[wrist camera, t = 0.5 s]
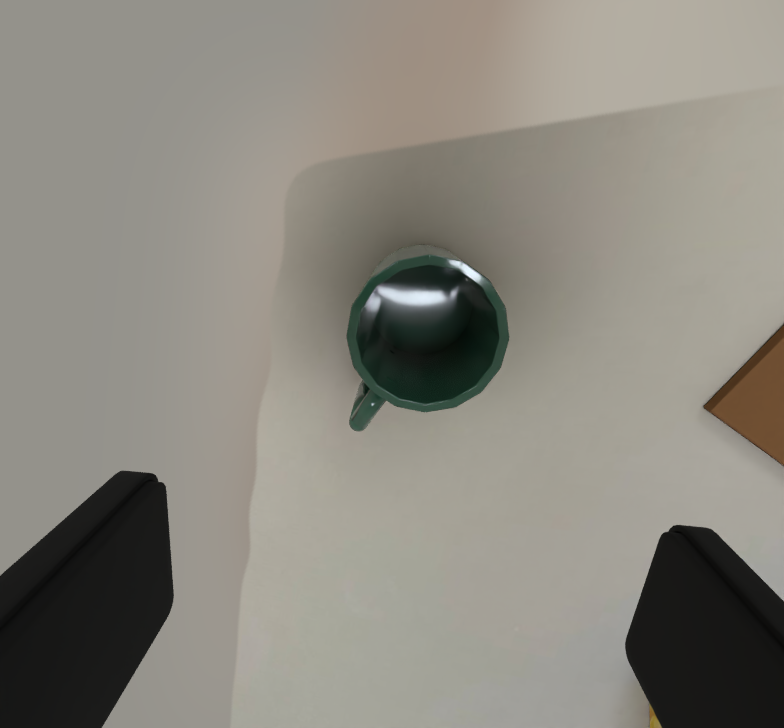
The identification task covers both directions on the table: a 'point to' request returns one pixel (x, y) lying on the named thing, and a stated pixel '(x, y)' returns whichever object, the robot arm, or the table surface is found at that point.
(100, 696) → the robot arm
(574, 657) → the table surface
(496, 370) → the mug
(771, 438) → the cork mat
